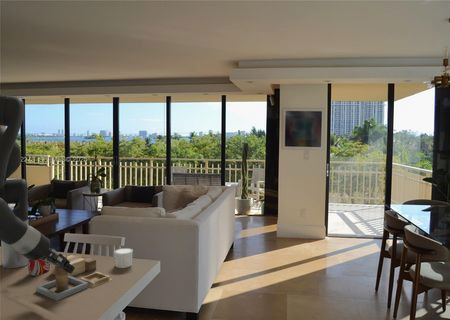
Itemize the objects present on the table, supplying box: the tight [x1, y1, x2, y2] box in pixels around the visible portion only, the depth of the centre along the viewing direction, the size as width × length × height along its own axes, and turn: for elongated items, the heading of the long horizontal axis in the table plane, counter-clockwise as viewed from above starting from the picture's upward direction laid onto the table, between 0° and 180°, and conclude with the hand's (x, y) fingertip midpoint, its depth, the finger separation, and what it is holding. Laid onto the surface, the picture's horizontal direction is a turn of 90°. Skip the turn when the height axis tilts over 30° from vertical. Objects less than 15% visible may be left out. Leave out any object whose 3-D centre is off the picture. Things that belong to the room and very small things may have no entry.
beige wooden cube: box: [50, 254, 87, 277], centre depth 128 cm, size 8×8×6 cm
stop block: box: [72, 253, 97, 273], centre depth 133 cm, size 12×3×5 cm, turn 57°
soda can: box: [27, 259, 51, 277], centre depth 130 cm, size 7×7×12 cm
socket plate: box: [79, 271, 113, 289], centre depth 121 cm, size 8×8×3 cm
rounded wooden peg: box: [54, 254, 70, 293], centre depth 114 cm, size 4×4×11 cm
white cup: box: [113, 247, 134, 269], centre depth 135 cm, size 7×7×7 cm
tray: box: [35, 275, 89, 302], centre depth 114 cm, size 11×11×3 cm
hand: (67, 268), depth 115 cm, fingers open, 4 cm apart
